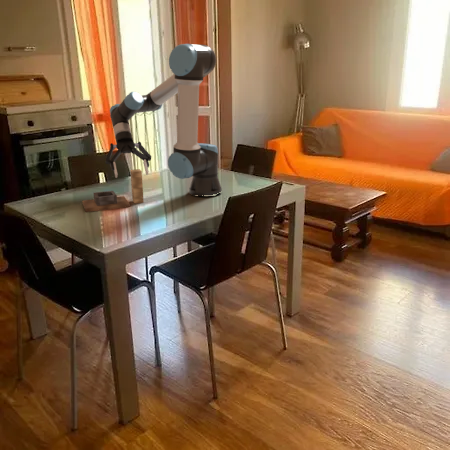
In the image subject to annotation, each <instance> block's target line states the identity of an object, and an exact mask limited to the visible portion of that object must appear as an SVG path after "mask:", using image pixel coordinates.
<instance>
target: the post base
mask: <svg viewBox="0 0 450 450" xmlns="http://www.w3.org/2000/svg"><path fill="white" fill-rule="evenodd" d="M81 203H82V206H83V208H84V211H85V212H86V213H88V212H89V213H90V212H96V211H97V212H98V211H106V210H114V209H122V208H123V209H124V208H130V207H131V205H130V202H129V201H128V199H127V198H126V197H125V195H123V196H118V195H117V193H115V191H114V190H108V191H107V190H106V191H105V190H104V191H99V192H96V191H95V192H93V199H85V200H82V202H81Z"/></svg>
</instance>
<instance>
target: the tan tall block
mask: <svg viewBox="0 0 450 450" xmlns="http://www.w3.org/2000/svg"><path fill="white" fill-rule="evenodd" d="M130 182H131V196H132V199H131V200H132V202H133V204H141V203H142V204H143V203H144V202H145V201H144V190H143V189H144V186H143V172H142V170H141V169H140V168H137V169H130Z"/></svg>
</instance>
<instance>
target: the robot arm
mask: <svg viewBox="0 0 450 450" xmlns="http://www.w3.org/2000/svg"><path fill="white" fill-rule="evenodd" d="M168 57H169V58H168V66H169V69H170V70H171V73H173V74H172V75H171V76H169V77H168V78H166V79H165V80H164V81H163V82H162V83H160V84H158V86H156V87H155V88H153V90H151V91H150V92H148V93H147V94H145V95H144V94H143V95H141V94H140V93H139V92H136V91H131V92H129V93H128V94H127V95H126V96H125V98H124V99H123V100H122V101H121V102H120V103H116V104H114V105H112V106H110V108H109V114H110V115H109V117H110V120H111V124H112V129H113V134H114V139H115V142H116V144H114V143H110V144H109V145H110V146H109V151H108V153H107V156H106V158H105V164H106V165H109V166H110V169H111V171H113V172H114V178H116V179H118V175H119V174H118V170H117V164H116V161H117V160H118V158H119V157H120V156H121V155H122V154H133V155H135V156H137V157H138V158H140V160H142V161H143V162H142V163H143V167H144V172H145V175H146V176H148V175H149V172H150V171H149V167H150V162H149V161H151V160H152V155H151V154H150V153H149V152H148V150H147V149H145V147H144V146H143V145H142V142H141V141H138V142H136V143H135V142H134V139H133V135H132V131H131V126H130V122H129V121H130V119H132V118H133V116H134V115H135V114H139V113H146V112H155V111H156V112H157V111H159V110H161V108H162V107H163V105H164V103H166V102H167V101H169V100H171V99H172V98H173V97H174V96H175V95H177V129H176V130H177V131H176V132H177V133H176V134H177V136H176V137H177V138H176V142H175V143H174V145H173V150H172V151H173V152H172V153H171V154H170V155H169V156H168V159H167V165H168V166H167V167H168V169H169V171H170V173H171V174H172V175H173V176H174V177H175V178H176V179H181V180H184V179H190V178H191V177H192V179H191V183H190V185H189V190H188V192H189V195H190V194H192V195H198V196H202V195H203V196H204V195H213V194H217V193H219V192H221V191H223V190H222V189H223V188H222V186H221V183H220V179H219V173H218V172H219V170H218V169H219V168H218V167H219V152H218V151H219V149H218V146H217V145H216V144H211V143H202V142H200V143H199V142H198V136H199V135H198V133H199V129H198V128H199V105H200V103H199V102H200V100H199V99H200V86H201V85H200V84H201V83H202V82H204V78H205V77H207V76H208V75H210V74H211V73H212V72H213V70H215V67H216V65H217V56H216V53H215V51H214V50H213V48H211V46H208V45H206V44H196V43H194V44H193V43H181V44H178V45H176V46H174V48H173V49H172V50H171V51H170V54H169V56H168ZM115 149H117V151H116V152H115V154H114V155H113V153H114V151H115ZM138 149H139V150H138ZM112 155H113V156H112ZM192 195H191V196H192Z"/></svg>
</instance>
